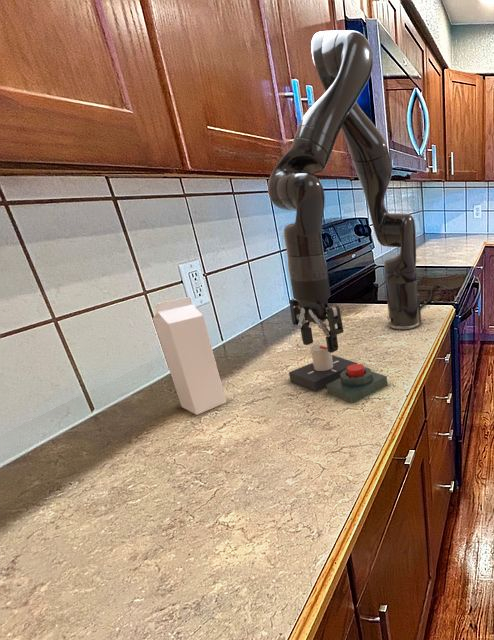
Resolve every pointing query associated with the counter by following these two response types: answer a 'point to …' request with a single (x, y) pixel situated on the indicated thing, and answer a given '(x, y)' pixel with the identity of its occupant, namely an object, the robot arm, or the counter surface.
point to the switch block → (356, 385)
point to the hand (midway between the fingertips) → (320, 347)
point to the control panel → (319, 374)
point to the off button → (355, 370)
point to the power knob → (321, 357)
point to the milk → (189, 355)
